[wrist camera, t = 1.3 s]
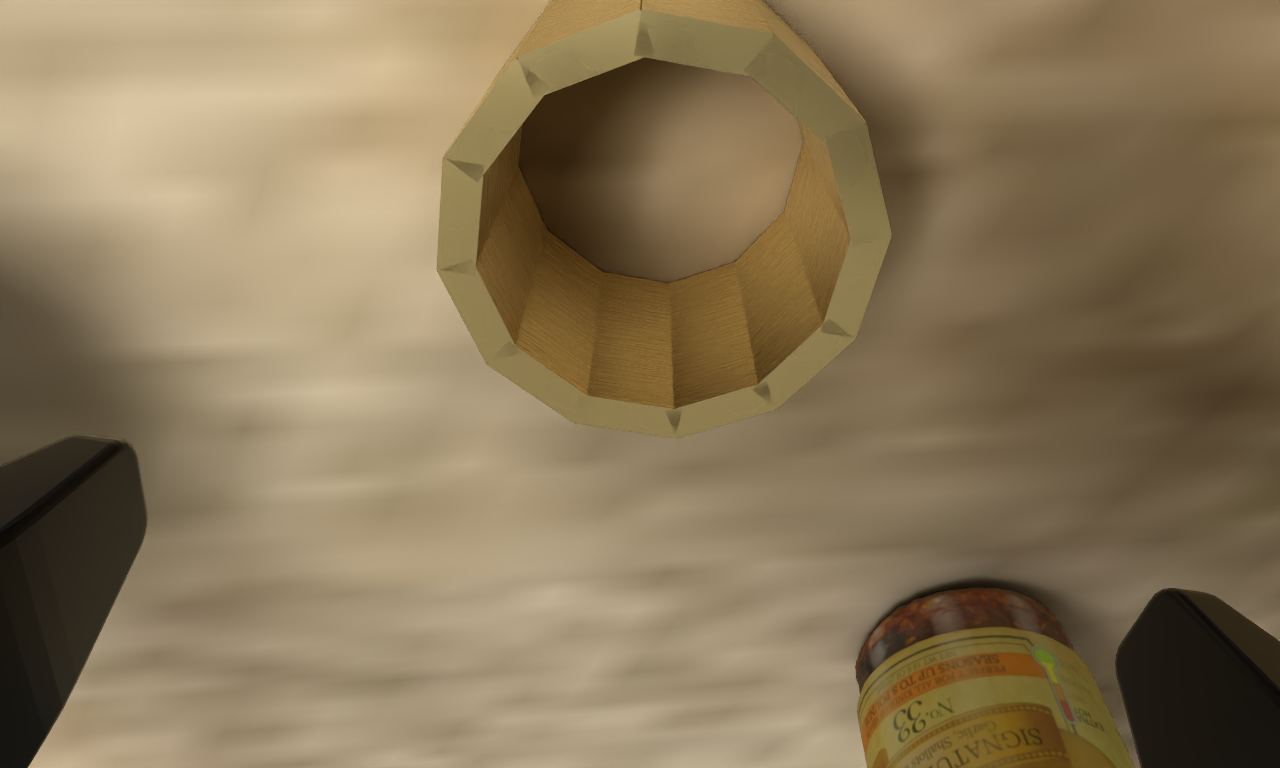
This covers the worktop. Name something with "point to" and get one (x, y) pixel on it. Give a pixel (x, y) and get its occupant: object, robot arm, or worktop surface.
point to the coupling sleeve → (647, 309)
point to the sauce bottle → (980, 688)
